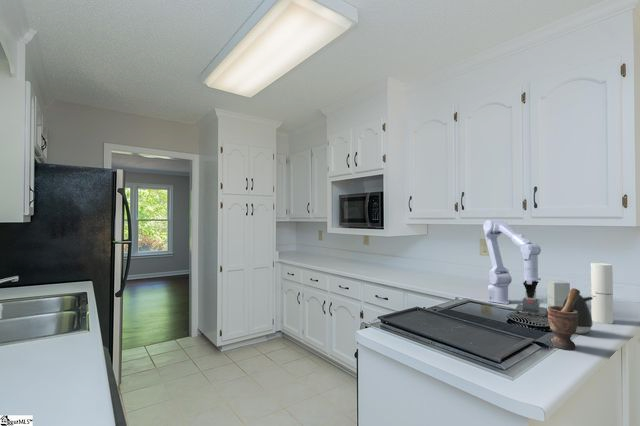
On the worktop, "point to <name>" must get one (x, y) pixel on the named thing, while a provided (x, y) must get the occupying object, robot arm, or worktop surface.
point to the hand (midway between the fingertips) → (531, 296)
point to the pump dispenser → (582, 314)
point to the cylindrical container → (602, 293)
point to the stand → (531, 307)
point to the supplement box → (557, 292)
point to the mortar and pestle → (564, 322)
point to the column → (531, 298)
